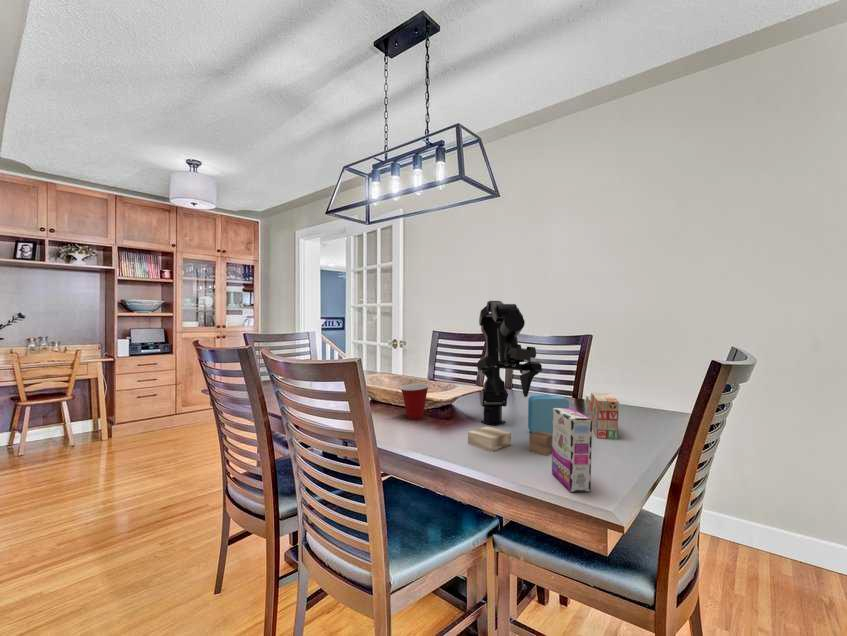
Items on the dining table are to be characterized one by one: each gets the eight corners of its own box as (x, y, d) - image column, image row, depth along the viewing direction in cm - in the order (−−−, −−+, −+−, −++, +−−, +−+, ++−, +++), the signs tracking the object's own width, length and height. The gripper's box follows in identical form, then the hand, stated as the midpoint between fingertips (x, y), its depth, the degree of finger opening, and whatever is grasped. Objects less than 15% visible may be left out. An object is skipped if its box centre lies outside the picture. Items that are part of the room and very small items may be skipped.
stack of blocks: (585, 421, 153) (586, 387, 153) (604, 422, 152) (604, 388, 151) (596, 438, 132) (597, 399, 132) (618, 440, 131) (619, 400, 130)
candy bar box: (592, 492, 93) (593, 418, 93) (570, 493, 93) (571, 419, 92) (570, 472, 104) (571, 406, 104) (550, 473, 104) (551, 407, 103)
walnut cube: (538, 447, 123) (539, 430, 123) (554, 452, 120) (554, 434, 120) (529, 451, 120) (529, 434, 120) (545, 456, 116) (545, 438, 116)
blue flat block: (563, 431, 140) (564, 395, 139) (568, 435, 135) (569, 398, 135) (527, 431, 139) (528, 395, 139) (531, 435, 135) (531, 398, 135)
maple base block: (487, 438, 132) (487, 426, 132) (510, 446, 126) (511, 432, 125) (467, 445, 126) (468, 431, 126) (491, 452, 120) (491, 438, 119)
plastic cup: (400, 413, 162) (400, 382, 161) (428, 413, 162) (428, 382, 161) (398, 421, 151) (398, 388, 151) (428, 421, 151) (429, 388, 151)
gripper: (494, 330, 115) (498, 387, 109) (550, 338, 122) (557, 392, 116) (475, 342, 125) (477, 395, 119) (528, 349, 131) (533, 399, 125)
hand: (512, 395), depth 119 cm, fingers open, 9 cm apart
